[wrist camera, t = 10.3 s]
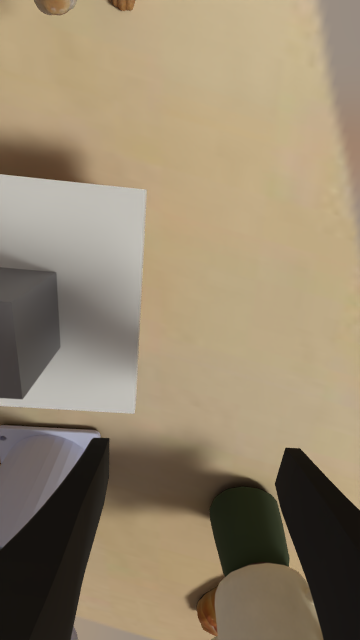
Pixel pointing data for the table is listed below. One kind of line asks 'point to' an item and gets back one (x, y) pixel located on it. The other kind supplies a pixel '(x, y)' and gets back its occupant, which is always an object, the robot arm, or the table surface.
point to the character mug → (258, 572)
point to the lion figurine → (59, 3)
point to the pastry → (208, 612)
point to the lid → (70, 294)
